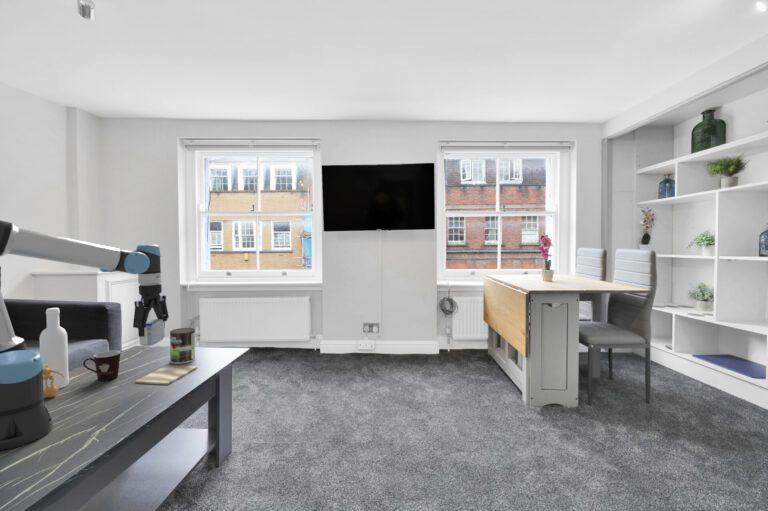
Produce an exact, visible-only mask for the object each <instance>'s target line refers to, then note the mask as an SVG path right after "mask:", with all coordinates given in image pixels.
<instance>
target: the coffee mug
mask: <svg viewBox="0 0 768 511" xmlns="http://www.w3.org/2000/svg"><path fill="white" fill-rule="evenodd" d="M87 361H92V362H93V363H94V366H95V369H92V368H91V367H88V366H87V365H86V362H87ZM120 361H121V351H120V350H107V351H102V352H98V353H96V354H94V355H93V358H91V357H89V358H86V359H85V360H84V361H83V363H82V365H83V367H84V368H86V369H87V370H89V371H91V372H94V373H95V374H96V376H97V381H98V382H110V381H113V380H115V379H117V378H118V377H119V369H120V363H121V362H120Z"/></svg>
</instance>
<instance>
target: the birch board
mask: <svg viewBox="0 0 768 511" xmlns="http://www.w3.org/2000/svg"><path fill="white" fill-rule="evenodd" d="M197 369H198V366H197V365H196V366H194V365H193V366H191V365H177V364H175V365H174V364H172V365H171V364H167V365H165V366H163V367H161V368H158V369H157V370H155V371H153V372H150V373H149V374H146V375H144V376H142V377H140V378H139V379H136V380H135V381H134V383H135V384H145V385H147V384H149V385H166V386H169V385H171V384H172V383H175V382H176V381H178V380H179V379H182V378H183V377H185V376H187V375H188V374H189V373H190V374H191V373H192V372H194V371H195V370H197Z"/></svg>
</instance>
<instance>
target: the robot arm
mask: <svg viewBox="0 0 768 511" xmlns="http://www.w3.org/2000/svg"><path fill="white" fill-rule="evenodd" d="M6 255H13V256H20V257H27V258H33V259H39V260H45V261H53V262H58V263H64V264H71V265H75V266H76V265H78V266H82V267H83V266H84V267H90V268H96V269H99V271H100V272H102V273H113V272H116V273H117V272H119V273H126V274H131V275H137V276H138V277H137V279H138V282H137V283H138V284H139V285H138V294H139V295H140V296H141V298H140V300H136V301H134V302H133V303H134V313H133V315H134V316H133V323H132V324H133V325H132V327H133V328H136V329H137V331H138V334H137V335H138V337H139V345H141V346H142V345H147V344H148V338H147V327H145V325H146V322H147V321H148V318H149V314H150V312H151V311H152V309H153V311H154V312H153V313H155V316H156V319H163V339H164V338H165V337H166V335H165V329H166V324H165V323H166V322H168V319H169V317H170V316H169V311H168V307H167V296H166V295H160V294H162V291H163V290H162V289H163V288H162V284H161V283H162V270H161V269H162V268H161V267H162V266H161V257H162V255H161V250H160V246H159V245H158V244H138V245H137V246H136V249H134V250H127V249H123V248H117V247H112V246H107V245H102V244H97V243H93V242H90V241H89V242H88V241H84V240H83V241H82V240H79V239H75V238H68V237H63V236H60V235H59V236H58V235H54V234H49V233H46V232H45V233H44V232H40V231H36V230H35V231H34V230H30V229H25V228H21V227H17V226H16V225H15V224H14V223H13V222H8V221H5V220H0V257H3V256H6ZM43 364H44V363H43V360H42V356H41V354H40V352H38V351H35V350H28V348H27V344H26V341H25V338H22V337H20V336H17V335H16V334H15V331H14V327H13V325H12V322H11V318H10V315H9V312H8V309H7V306H6V303H5V301H4V298H3V295H2V290H0V450H1V451H6V450H5V449H7V450H10V449H15V448H18V447H21V446H25V445H27V444H29V443H32V442H34V441H38V440H39V439H41V438H43V437H45V436H46V435H48V434H49V433H50V432H51V431H52V430H53V427H54V425H53V418H52V417H51V414H50V412H49V411H48V409H47V406H46V405H45V400H44V398H45V396H44V393H43V391H44V390H43Z"/></svg>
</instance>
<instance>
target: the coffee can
mask: <svg viewBox="0 0 768 511" xmlns="http://www.w3.org/2000/svg"><path fill="white" fill-rule="evenodd" d="M195 331H196V329H195V328H194V327H182V328H181V327H179V328H175V329H171V330H170V331H169V336H170V337H169V341H170V342H169V343H170V344H169V345H170V348H169V349H170V350H169V351H170V360H169V362H170V363H171V364H172V365H174V364H175V365H177V364H178V365H181V364H187V363H190V362H193V361H195V360H196V343H195V342H196V332H195Z"/></svg>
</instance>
